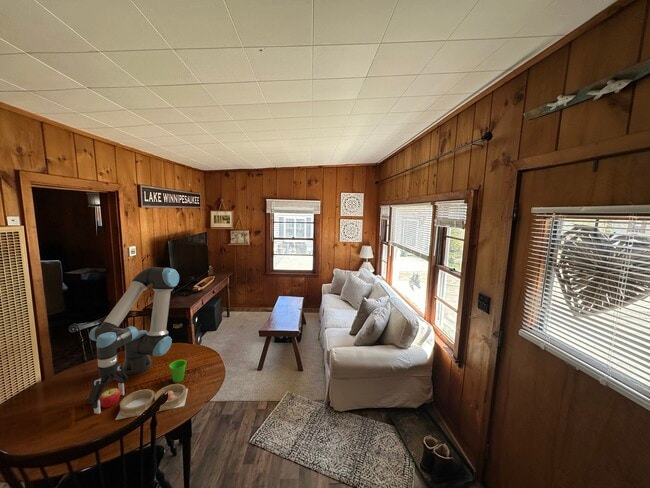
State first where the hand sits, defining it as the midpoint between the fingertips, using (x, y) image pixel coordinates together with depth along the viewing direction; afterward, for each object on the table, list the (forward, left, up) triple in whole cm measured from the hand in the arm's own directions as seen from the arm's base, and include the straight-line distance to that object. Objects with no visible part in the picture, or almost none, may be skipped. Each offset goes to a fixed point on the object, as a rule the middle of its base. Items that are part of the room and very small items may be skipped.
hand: (110, 403), depth 132 cm
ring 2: (+17, +24, 0) cm, 29 cm away
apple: (0, 0, -1) cm, 1 cm away
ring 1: (+11, +10, 0) cm, 15 cm away
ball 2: (+19, +24, 0) cm, 30 cm away
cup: (+1, +31, -1) cm, 31 cm away
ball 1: (+14, +24, 0) cm, 28 cm away
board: (+14, +17, -1) cm, 22 cm away
